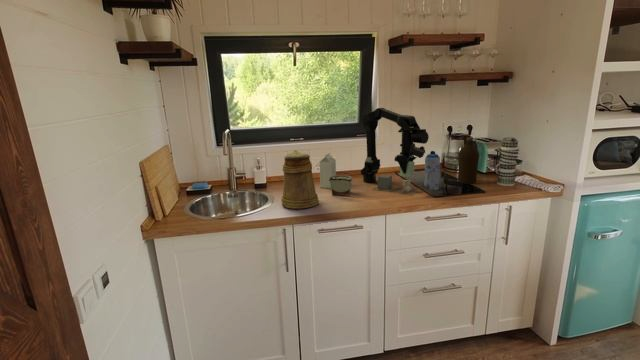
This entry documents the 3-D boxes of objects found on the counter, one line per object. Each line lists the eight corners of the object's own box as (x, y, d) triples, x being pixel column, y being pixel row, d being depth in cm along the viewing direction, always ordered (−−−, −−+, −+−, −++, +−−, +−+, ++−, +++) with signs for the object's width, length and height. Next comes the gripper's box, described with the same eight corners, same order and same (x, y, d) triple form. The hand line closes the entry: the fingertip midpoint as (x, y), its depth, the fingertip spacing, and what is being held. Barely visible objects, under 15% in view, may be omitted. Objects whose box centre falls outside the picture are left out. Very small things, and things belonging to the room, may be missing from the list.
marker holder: (371, 192, 184) (371, 179, 182) (380, 186, 193) (380, 174, 192) (411, 198, 172) (412, 184, 170) (419, 191, 181) (420, 178, 179)
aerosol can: (426, 185, 193) (427, 149, 188) (440, 186, 188) (442, 150, 183) (421, 188, 187) (423, 152, 182) (436, 190, 182) (438, 153, 177)
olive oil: (464, 185, 190) (467, 139, 183) (452, 180, 200) (455, 137, 193) (481, 183, 192) (484, 138, 186) (469, 178, 202) (472, 135, 196)
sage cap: (399, 175, 176) (399, 163, 174) (403, 173, 180) (403, 161, 179) (410, 177, 173) (410, 164, 171) (414, 174, 177) (414, 161, 176)
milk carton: (320, 187, 197) (319, 154, 192) (325, 184, 203) (323, 152, 198) (332, 188, 194) (331, 155, 189) (336, 185, 200) (335, 152, 196)
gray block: (377, 188, 185) (377, 176, 183) (382, 186, 189) (382, 174, 187) (387, 190, 182) (387, 177, 180) (391, 187, 186) (392, 175, 184)
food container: (355, 193, 183) (354, 175, 181) (352, 197, 178) (352, 178, 175) (332, 192, 187) (332, 174, 185) (329, 195, 182) (328, 177, 179)
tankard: (283, 211, 160) (279, 159, 154) (279, 197, 183) (275, 150, 176) (322, 207, 164) (319, 155, 157) (313, 193, 186) (310, 147, 180)
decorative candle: (510, 187, 182) (515, 139, 176) (493, 184, 189) (497, 138, 183) (518, 183, 188) (523, 137, 181) (500, 180, 195) (505, 136, 188)
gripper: (417, 145, 160) (416, 178, 164) (429, 139, 175) (428, 169, 179) (394, 144, 167) (393, 175, 171) (408, 138, 181) (407, 168, 185)
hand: (406, 172), depth 176 cm, fingers closed on sage cap, 6 cm apart
